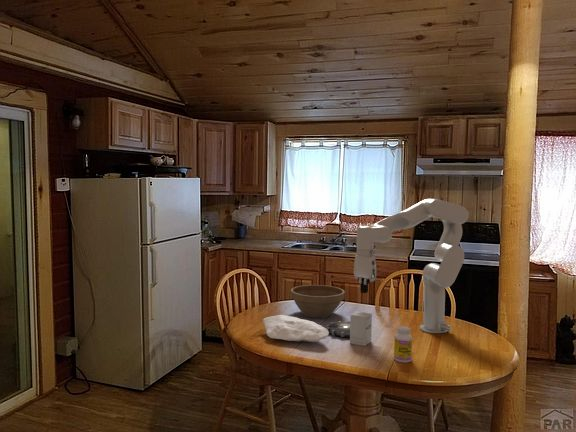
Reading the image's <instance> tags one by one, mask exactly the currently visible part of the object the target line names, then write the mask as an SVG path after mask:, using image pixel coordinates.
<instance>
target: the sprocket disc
mask: <svg viewBox="0 0 576 432" xmlns="http://www.w3.org/2000/svg"><path fill="white" fill-rule="evenodd" d="M326 325H327V327H326V329H327V330H328V331H329V334H331V335H332V336H338V337H341V338H344V337H347V338H348V337H349V338H350V320H349V321H341V320H339V321H335V322H330V324H326Z"/></svg>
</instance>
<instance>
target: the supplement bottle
mask: <svg viewBox="0 0 576 432" xmlns="http://www.w3.org/2000/svg"><path fill="white" fill-rule="evenodd" d="M410 332H411V328H410V327H409V326H404V325H401V326H397V333H395V335H394V345H393V346H394V348H393V350H394V352H393V359H394V360H395V361H396V362H399V363H404V364H405V363H409V362H411V361H412V353H413V351H412V350H413V336H412V334H411V333H410Z"/></svg>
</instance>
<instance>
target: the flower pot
mask: <svg viewBox="0 0 576 432" xmlns="http://www.w3.org/2000/svg"><path fill="white" fill-rule="evenodd" d="M345 293H346V291H345V290H344V289H343V288H340V287H336V286H332V285H321V284H307V285H298V286H295V287H293V288H291V289H290V297H291V298H292V299H293V300H294V303H295V305H296V306H297V309H298V310H300V312H301V313H303V315H304V316H305V317H308V318H314V319H316V318H317V319H319V318H320V319H321V318H327V317H330V316H331V314H332V313H334V312H335V311H336V310H337V309H338V307H339V306H340V304H341V302H342V301H343V300H344V299H345V296H346V294H345Z"/></svg>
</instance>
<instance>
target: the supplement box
mask: <svg viewBox="0 0 576 432" xmlns="http://www.w3.org/2000/svg"><path fill="white" fill-rule="evenodd" d="M372 317H373V313H371V312H370V313H369V312H364V311H355V312H353V313H352V314H350V319H349V321H350V337H349V344H353V345H356V346H363V347H366V345H368V344H369V343H371V342H372V326H373V325H372V324H373V323H372V322H373V321H372V320H373V319H372Z"/></svg>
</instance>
